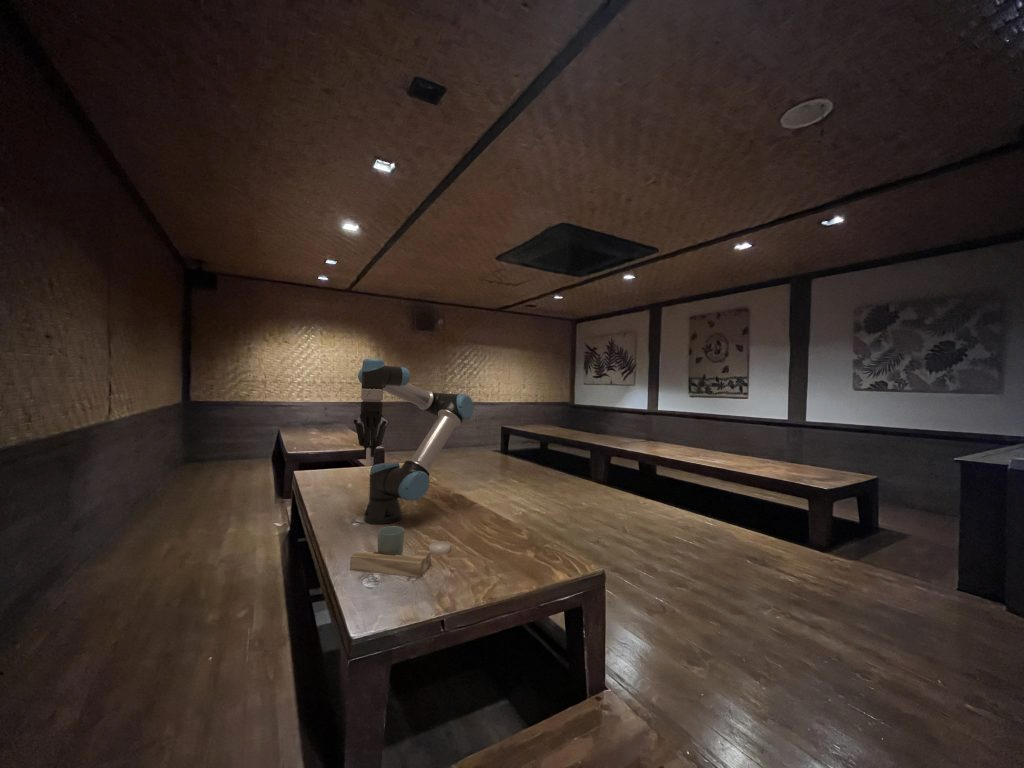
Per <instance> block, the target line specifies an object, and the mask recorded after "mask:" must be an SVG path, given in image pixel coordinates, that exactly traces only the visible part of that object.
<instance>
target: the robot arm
mask: <svg viewBox="0 0 1024 768" xmlns="http://www.w3.org/2000/svg"><path fill="white" fill-rule="evenodd" d="M357 374H358V375H357V378H358V379H357V380H358V381H359V383H360V384H361V393H360V395H361V396H360V397H361V398H360V400H362V401H361V402H360V415H359V417H357V418H356V419H353V420H352V421H353V423H354V425H355V428H356V434H357V440H358V445H359V447H362V448H364V449H363V453H364V454H363V456H364V457H365V467H370V472H369V496H368V498H369V499H368V504H367V506H366V509H365V512H364V515H363V521H364V522H365V523H368V524H371V525H386V524H387V525H388V524H392V523H397V522H398V521H400V520H402V518H403V511H402V508H401V505H400V501H399V499H400V500H401V499H402V500H404V501H412V502H413V501H418V500H420V499H422V498H423V497H424V496H425V495H426V494H427V492H428V490H429V487H430V474H431V473H430V468H431V467H432V465H433V464H434V462H435V461H436V459H437V458H438V455H439V454H440V452H441V451H442V449H443V447H444V446H445V444H446V442H447V441H448V439H449V437H450V436H451V434H452V433H453V431H454V429H455V428H457V427H460V426H461V424H462V422H463V421H464V420H466V421H467V420H469V419H471V418H472V417H473V414H474V402H473V400H472V398H471V396H469V395H468V394H466V393H449V392H448V393H444V392H443V393H442V392H433V391H431V390H429V389H428V390H427V389H425V390H424V389H422V388H420V387H418V386H415V385H414V384H412V383H409V382H410V380H411V373H410V370H409V369H408V368H406V367H403V366H395V365H393V366H392V365H385V361H384V360H383V359H381V358H365V359H363V360H362V365H361V369H360V370H359V372H358V373H357ZM384 392H386V393H388V394H391V395H392V396H395V397H397V398H399V399H402V400H404V401H406V402H409V403H411V404H414V405H416V406H417V407H418V409H420V410H421V411H424V412H426V413H428V414H431V415H433V416H436V417H437V419H436V421H435V422H434V424H433V425H432V426H431V428H430V430H429V432H428V433H427V434H426V436H425V437H424V439H423V441H422V442H421V444H420V445H419V447H418V448H417V450H416V451H415V453H414V455H413V456H412V458H410V459H406V460H405V461H404V463H403V464H402V465H401V466H400V463H399V462H397V461H396V462H385V463H384V462H382V463H377V464H374V460H375V459H374V457H376V455H377V447H378V448H379V447H381V446H382V443H383V439H384V436H385V432H386V428H387V426H388V425H389V422H390V421H389V420H388V419H387V420H386V419H385V418H384V416H383V414H382V413H383V408H384V407H383V404H384V403H383V402H382V401H383V400H384ZM379 424H380V426H379Z"/></svg>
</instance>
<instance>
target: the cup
mask: <svg viewBox="0 0 1024 768" xmlns="http://www.w3.org/2000/svg"><path fill="white" fill-rule="evenodd" d="M377 532H378V533H377V552H382V553H392V554H396V555H402V556H403V552H404V546H405V545H404V543H405V529H404V527H403V526H398V525H389V526H384V527H381V528H380V529H378V531H377Z"/></svg>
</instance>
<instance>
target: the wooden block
mask: <svg viewBox="0 0 1024 768" xmlns="http://www.w3.org/2000/svg"><path fill="white" fill-rule="evenodd" d="M349 559H350V563H349V570H350V571H357V572H366V573H367V572H368V573H369V572H370V573H377V574H387V575H394V576H395V575H396V576H403V577H404V576H405V577H413V578H414V577H416V578H421V577H422V575H423V574H424V573H425V572H426V570H427V569H428V568H429V567H430V566H431V564H432V553H431V551H429V550H425V549H424V550H421V549H418V550H417V551H416V552H415V554H414V555H412V556H411V555H403V554H402V555H396V554H392V553H382V552H378V551H373V552H372V551H361V550H357V551H355V553H353V554H352V555H350V558H349Z"/></svg>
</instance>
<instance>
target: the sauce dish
mask: <svg viewBox="0 0 1024 768" xmlns="http://www.w3.org/2000/svg"><path fill="white" fill-rule="evenodd" d="M428 548H429V549H428V551H431V555H432V554H433V555H444V554H448V553H450V551H451V543H450V542H449V541H442V540H439V541H438V540H437V541H433V542H432V543H430V544H429V547H428Z"/></svg>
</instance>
